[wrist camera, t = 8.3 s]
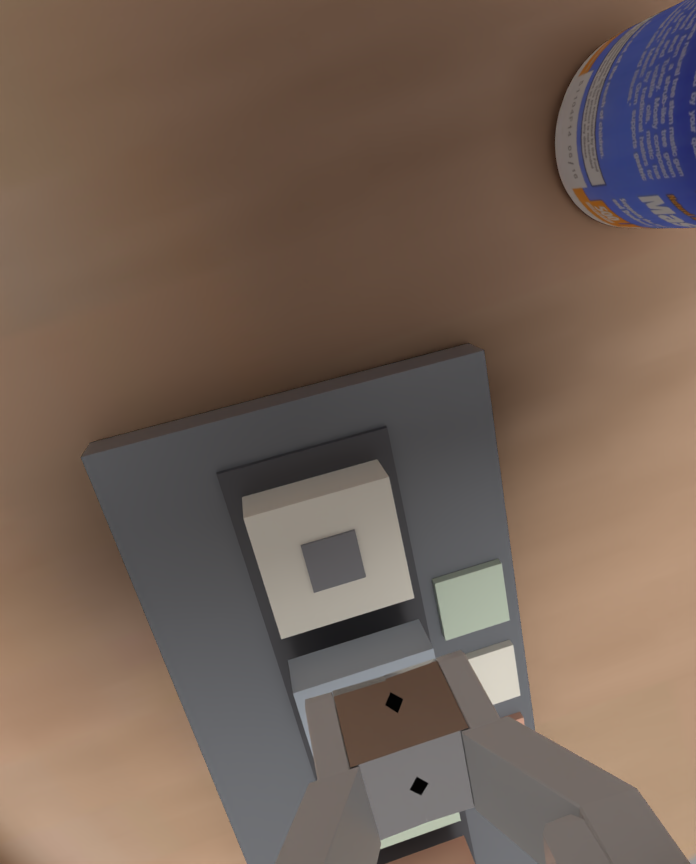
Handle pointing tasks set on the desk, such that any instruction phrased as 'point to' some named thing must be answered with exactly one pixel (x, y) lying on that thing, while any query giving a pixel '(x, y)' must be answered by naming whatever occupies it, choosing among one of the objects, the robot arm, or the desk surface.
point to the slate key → (357, 662)
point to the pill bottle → (634, 126)
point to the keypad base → (244, 588)
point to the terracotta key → (441, 854)
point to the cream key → (328, 547)
